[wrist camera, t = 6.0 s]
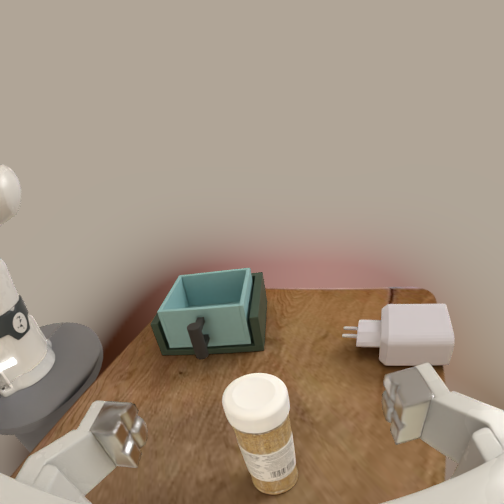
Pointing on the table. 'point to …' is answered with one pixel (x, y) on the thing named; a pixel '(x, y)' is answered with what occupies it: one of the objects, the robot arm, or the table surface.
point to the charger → (408, 334)
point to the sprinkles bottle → (263, 430)
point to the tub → (208, 310)
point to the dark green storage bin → (256, 344)
